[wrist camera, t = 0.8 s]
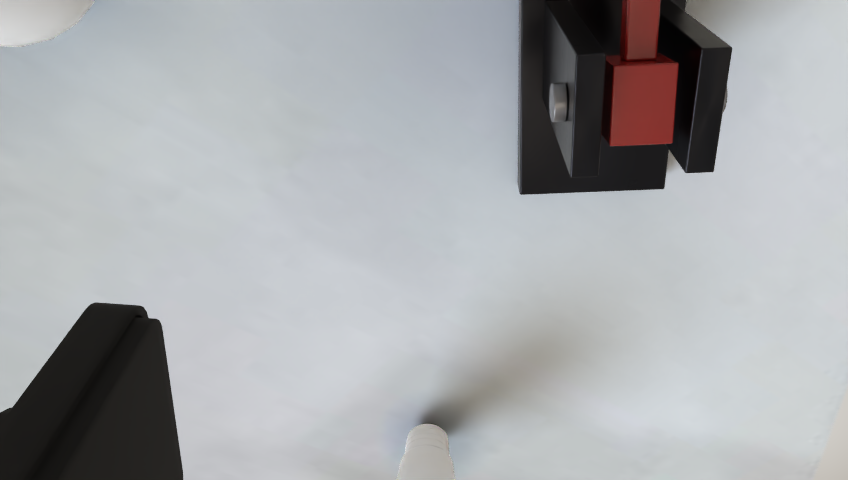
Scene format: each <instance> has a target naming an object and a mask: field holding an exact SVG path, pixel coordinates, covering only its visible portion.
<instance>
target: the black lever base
mask: <svg viewBox="0 0 848 480" xmlns="http://www.w3.org/2000/svg"><path fill="white" fill-rule="evenodd" d="M685 5H686V0H661V2H660V17H659V33H658V48H657V53H660V54H662V55H664V56H666V57H668V58H670V59H672V60H674V61H675V62H677V63H679V69H678V82H677V95H676V108H675V121H674V134H673V143H671V144H652V145H628V146H610V145H609V144H608V143H607V141H606V140H605V139H604V138H603V136H602V135H601V131H602V116H603V101H604V86H605V70H606V56H614V55H620V39H621V18H622V0H519V96H518V187H519V192H520V194H521V195H523V194H548V193H574V192H599V191H624V190H650V189H664V186H665V178H666V169H667V160H668V152H669V150H670V151H671V153H672V154H673V156H674V157H675V159H676V160H677V161H678V163H679V164H680V166H681V167H682V169H683V170H684V171H685V173H700V172H713V171H714V165H715V159H716V152H717V146H718V139H719V132H720V126H721V119H722V113H723V111H724V109H725V107H726V102H727V79H728V73H729V66H730V59H731V53H732V47H731V46H729V45H728V44H727V43H725V42H724V41H723V40H722V39H720V38H719V37H718V36H716V35H715V34H714V33H712V32H711V31H710V30H708V29H707V28H706V27H704V26H703V25H702V24H700V23H699V22H698V21H697V20H695V19H694V18H693V17H691V16H690V15H689V14H687V13H686V12H685Z"/></svg>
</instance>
